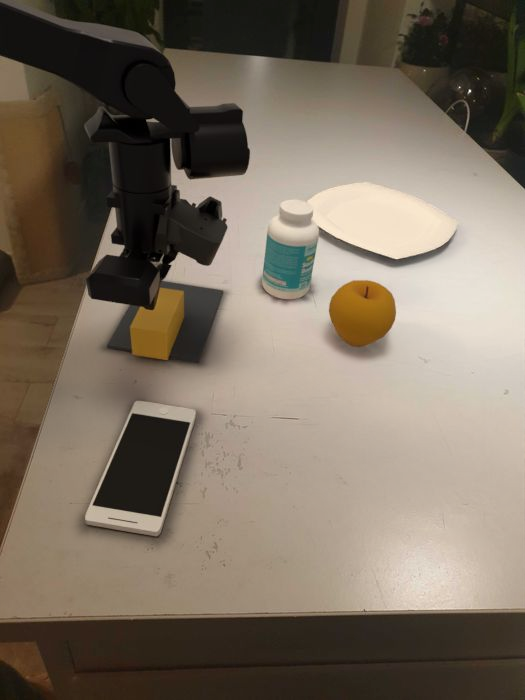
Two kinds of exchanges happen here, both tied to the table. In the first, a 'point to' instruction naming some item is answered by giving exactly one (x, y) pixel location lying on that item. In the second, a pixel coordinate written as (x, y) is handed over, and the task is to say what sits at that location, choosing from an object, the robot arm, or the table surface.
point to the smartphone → (142, 469)
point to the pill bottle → (290, 250)
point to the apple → (362, 312)
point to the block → (158, 325)
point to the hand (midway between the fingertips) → (150, 308)
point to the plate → (381, 220)
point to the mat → (193, 328)
